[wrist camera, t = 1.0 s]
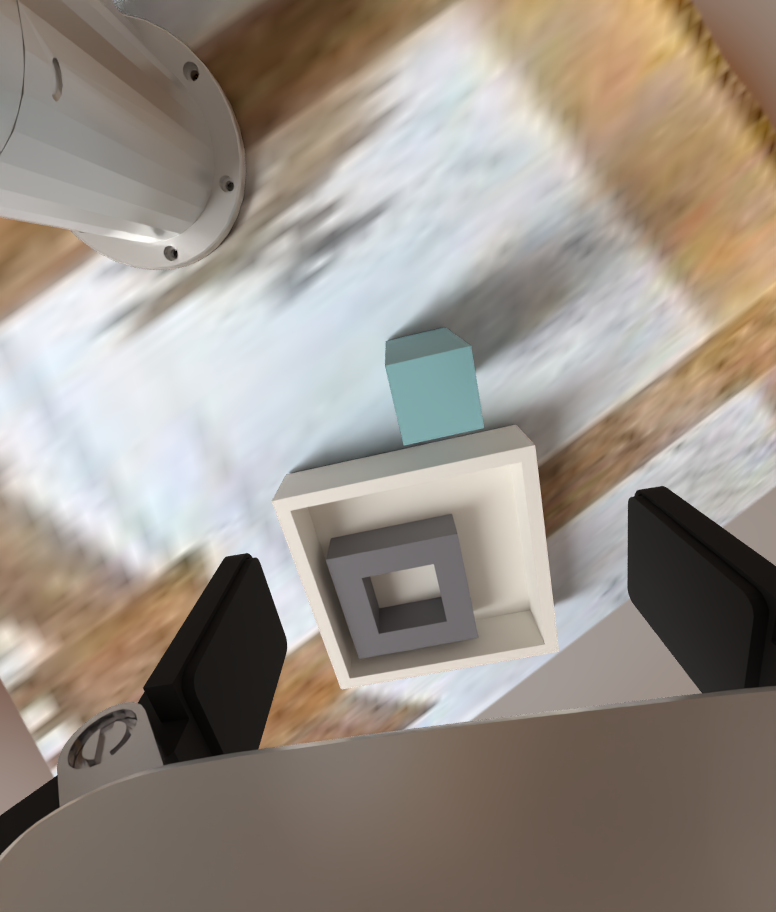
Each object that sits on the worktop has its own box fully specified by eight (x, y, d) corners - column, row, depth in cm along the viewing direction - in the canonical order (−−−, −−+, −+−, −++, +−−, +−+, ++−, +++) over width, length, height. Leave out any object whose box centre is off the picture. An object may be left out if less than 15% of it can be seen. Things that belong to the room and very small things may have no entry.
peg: (385, 341, 30) (384, 365, 21) (445, 326, 30) (471, 345, 21) (398, 398, 32) (403, 445, 22) (455, 385, 31) (484, 427, 22)
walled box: (286, 474, 34) (271, 501, 30) (516, 424, 32) (535, 445, 28) (346, 647, 40) (341, 689, 36) (540, 612, 39) (559, 651, 35)
